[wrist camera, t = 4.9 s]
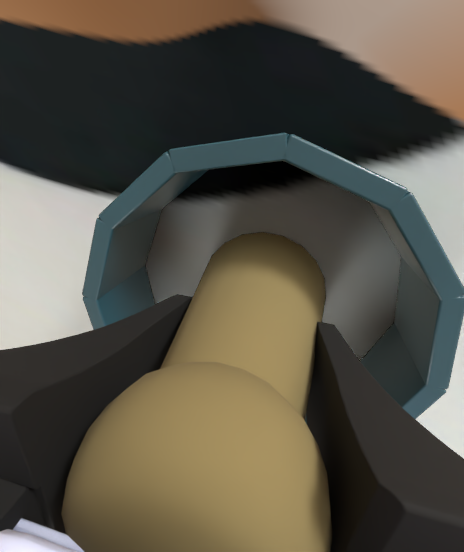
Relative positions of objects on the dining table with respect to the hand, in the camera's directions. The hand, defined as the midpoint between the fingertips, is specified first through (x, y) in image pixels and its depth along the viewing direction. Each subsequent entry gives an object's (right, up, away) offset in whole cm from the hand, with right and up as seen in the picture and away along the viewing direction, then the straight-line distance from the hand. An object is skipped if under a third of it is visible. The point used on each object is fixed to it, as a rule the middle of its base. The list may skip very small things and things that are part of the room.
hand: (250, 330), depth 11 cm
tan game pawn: (+1, +1, +3) cm, 4 cm away
